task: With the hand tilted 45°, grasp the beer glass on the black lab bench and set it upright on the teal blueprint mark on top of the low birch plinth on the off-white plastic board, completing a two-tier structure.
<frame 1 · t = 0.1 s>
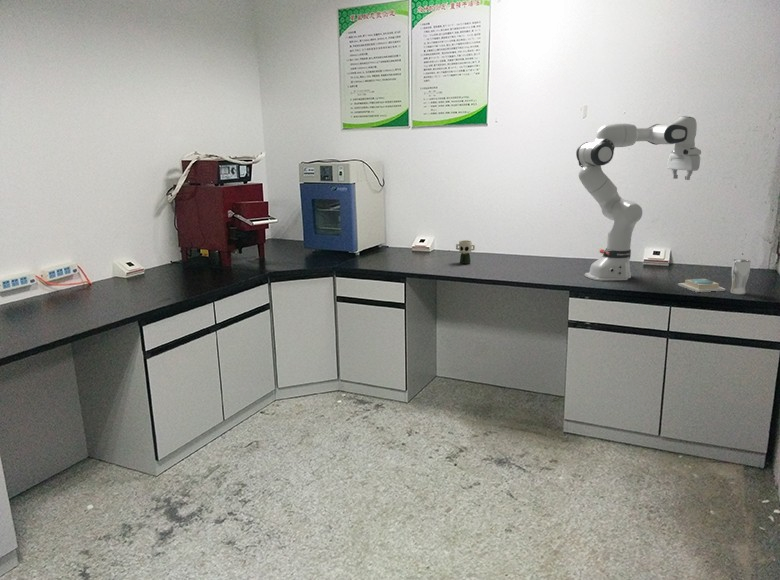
hand: (681, 179, 285), 48 cm above the lab bench, tool pointing down, fingers open, 8 cm apart
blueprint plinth: (701, 287, 268), on the lab bench
character mug: (465, 263, 331), on the lab bench
beer glass: (737, 293, 258), on the lab bench
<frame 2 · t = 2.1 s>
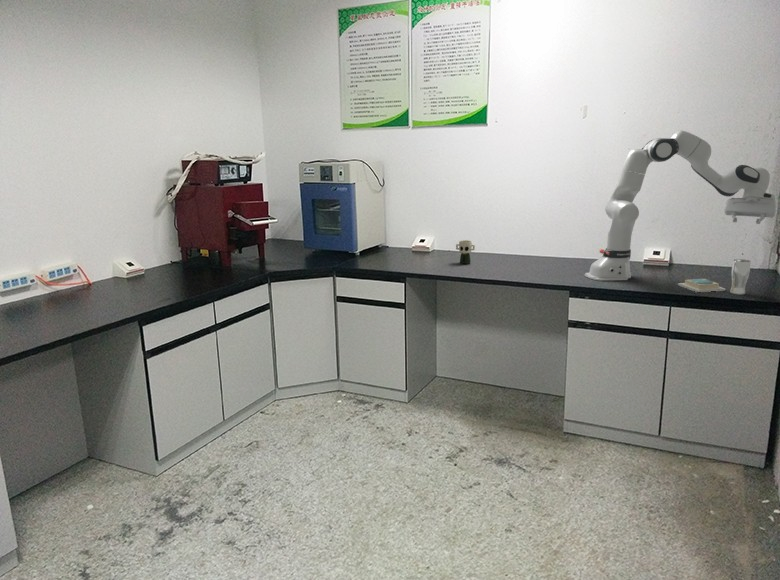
hand: (746, 222, 263), 30 cm above the lab bench, tool tilted 45°, fingers open, 8 cm apart
nothing on the lab bench moved.
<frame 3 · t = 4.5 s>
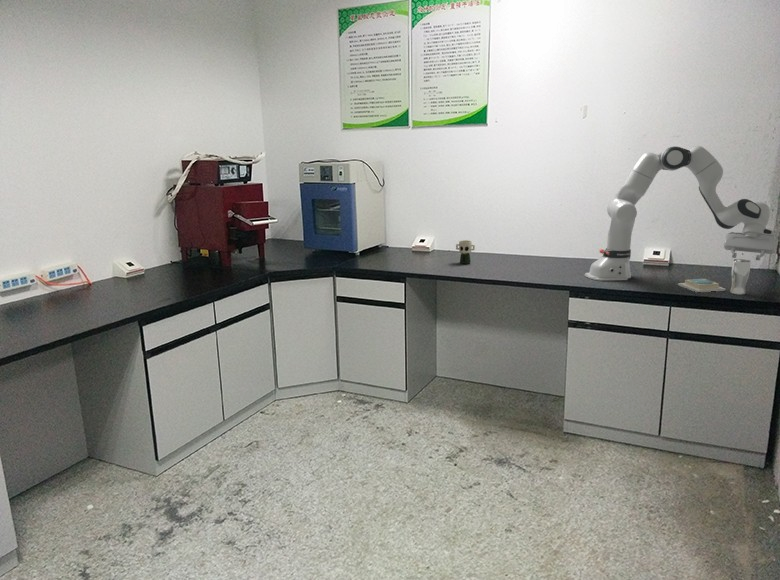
hand: (745, 258, 260), 15 cm above the lab bench, tool tilted 45°, fingers open, 8 cm apart
nothing on the lab bench moved.
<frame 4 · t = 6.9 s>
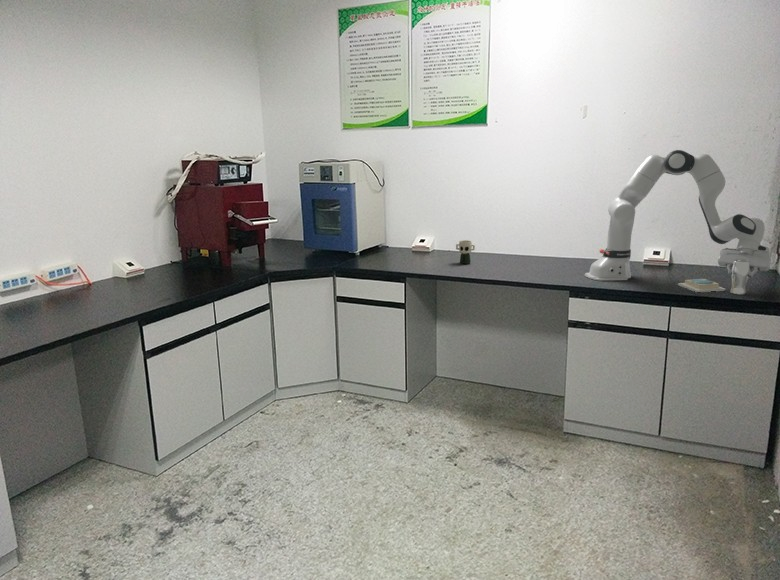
hand: (739, 275, 255), 8 cm above the lab bench, tool tilted 45°, fingers closed on beer glass, 7 cm apart
beer glass: (737, 293, 258), on the lab bench, touching gripper
everything else where it was.
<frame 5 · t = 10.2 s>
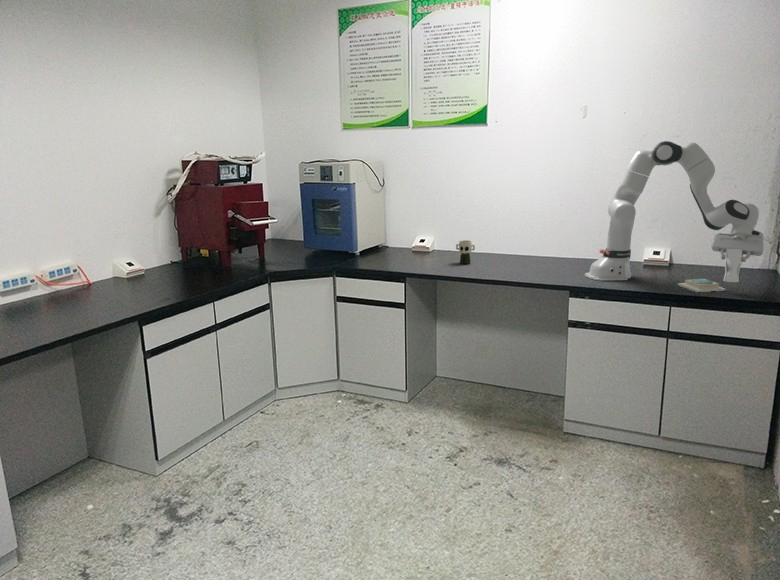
hand: (733, 260, 256), 15 cm above the lab bench, tool tilted 45°, fingers closed on beer glass, 7 cm apart
beer glass: (730, 281, 258), point 5 cm above the lab bench, touching gripper
everything else where it was.
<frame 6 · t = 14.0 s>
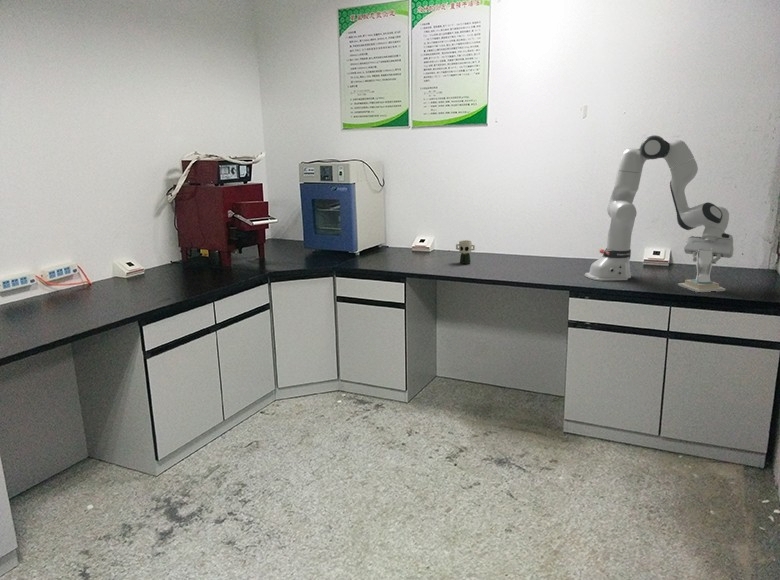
hand: (704, 262, 264), 13 cm above the lab bench, tool tilted 45°, fingers closed on beer glass, 6 cm apart
beer glass: (702, 281, 266), point 3 cm above the lab bench, touching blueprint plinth, gripper
everything else where it was.
when the fingers open (13 cm above the lab bench, at t = 14.3 s): beer glass stays where it is, resting on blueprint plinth.
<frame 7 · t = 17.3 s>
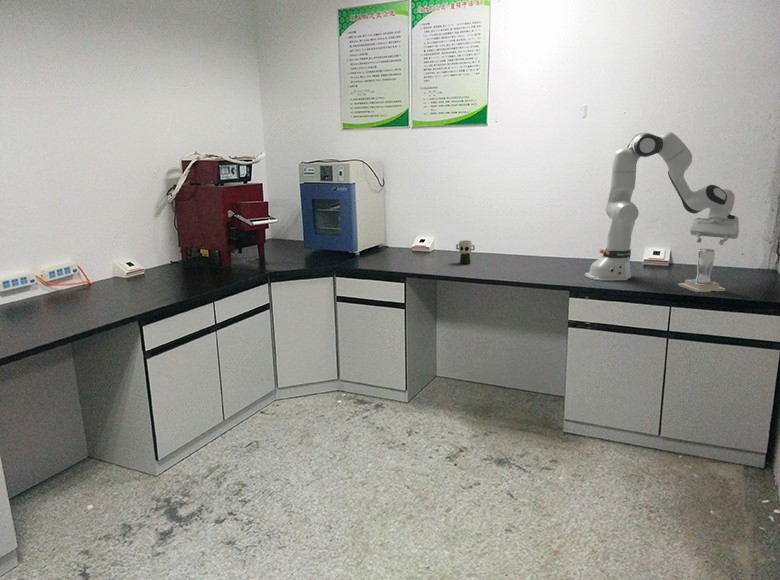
hand: (709, 242, 267), 20 cm above the lab bench, tool tilted 45°, fingers open, 8 cm apart
beer glass: (702, 282, 266), point 3 cm above the lab bench, touching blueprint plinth
everything else where it was.
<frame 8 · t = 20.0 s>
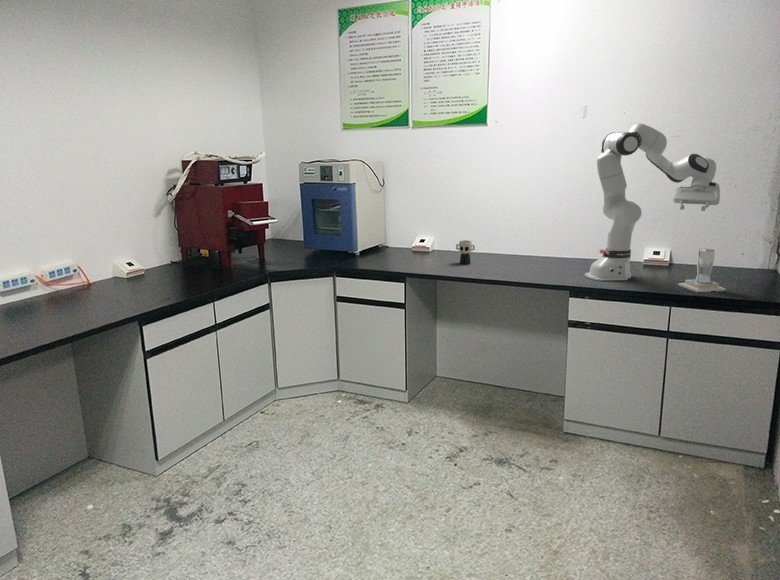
hand: (692, 209, 277), 34 cm above the lab bench, tool tilted 45°, fingers open, 8 cm apart
nothing on the lab bench moved.
at the end: beer glass inside the target area on the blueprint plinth (0.6 cm from its centre), point 3.0 cm above the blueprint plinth's base; beer glass tilted 0°; the gripper is holding nothing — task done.
